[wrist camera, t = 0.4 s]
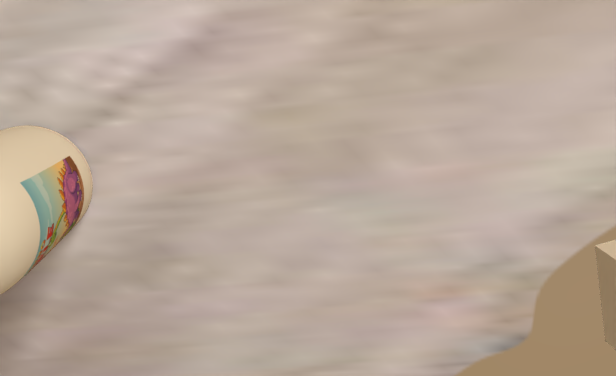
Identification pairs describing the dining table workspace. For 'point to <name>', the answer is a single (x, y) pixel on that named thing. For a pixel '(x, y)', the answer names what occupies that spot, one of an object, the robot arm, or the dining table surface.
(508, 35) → the dining table surface
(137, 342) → the dining table surface
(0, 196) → the milk bottle
